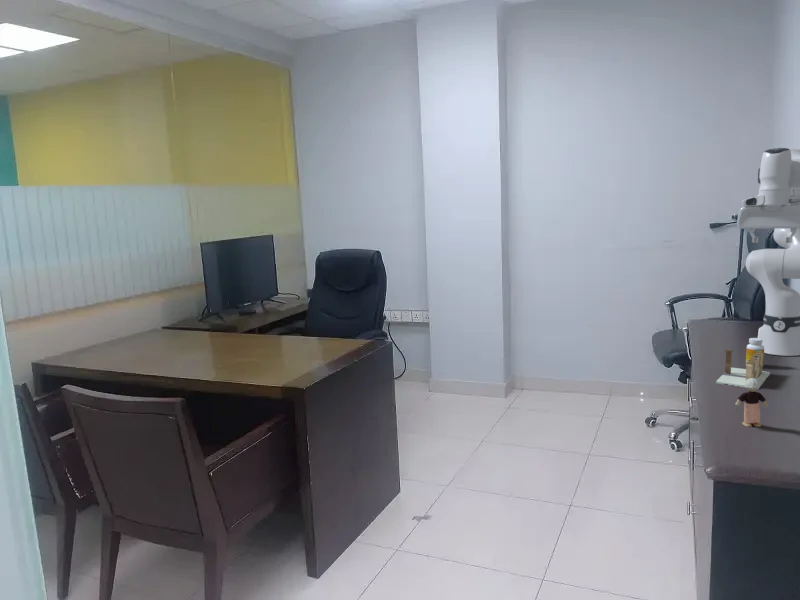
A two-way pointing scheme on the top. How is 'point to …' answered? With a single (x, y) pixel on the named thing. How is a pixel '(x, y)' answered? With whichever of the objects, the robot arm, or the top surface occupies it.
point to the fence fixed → (758, 362)
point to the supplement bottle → (754, 348)
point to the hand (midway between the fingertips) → (771, 242)
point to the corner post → (728, 361)
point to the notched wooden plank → (751, 368)
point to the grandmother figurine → (751, 403)
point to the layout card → (740, 377)
